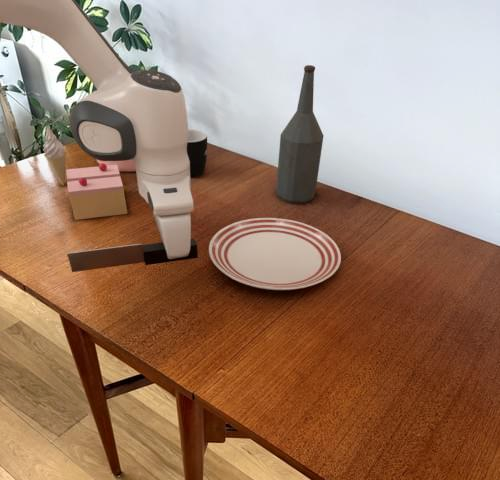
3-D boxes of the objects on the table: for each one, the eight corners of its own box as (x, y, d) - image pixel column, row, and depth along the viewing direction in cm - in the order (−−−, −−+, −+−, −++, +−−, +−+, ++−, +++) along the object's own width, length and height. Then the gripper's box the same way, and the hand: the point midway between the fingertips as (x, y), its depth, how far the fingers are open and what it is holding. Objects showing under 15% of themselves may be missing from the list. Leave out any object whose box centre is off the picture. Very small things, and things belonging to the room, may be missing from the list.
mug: (211, 178, 126) (210, 140, 119) (178, 181, 124) (175, 143, 117) (202, 160, 134) (201, 124, 127) (171, 162, 132) (168, 126, 126)
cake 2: (75, 220, 108) (66, 184, 102) (72, 196, 116) (64, 162, 110) (127, 213, 111) (121, 178, 105) (121, 191, 119) (116, 157, 113)
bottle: (281, 183, 125) (292, 58, 105) (317, 189, 123) (335, 62, 103) (272, 201, 118) (282, 69, 97) (310, 207, 116) (328, 74, 96)
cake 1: (179, 159, 134) (175, 107, 125) (121, 179, 124) (112, 124, 114) (138, 139, 144) (132, 90, 134) (81, 157, 133) (70, 104, 123)
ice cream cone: (48, 185, 120) (32, 125, 109) (64, 179, 123) (50, 120, 112) (61, 191, 118) (45, 130, 107) (77, 184, 121) (63, 124, 110)
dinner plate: (245, 217, 111) (245, 204, 109) (354, 247, 103) (357, 234, 101) (184, 276, 93) (183, 262, 91) (311, 319, 85) (314, 305, 83)
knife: (72, 275, 83) (67, 256, 80) (71, 268, 85) (66, 249, 82) (197, 258, 89) (197, 240, 86) (195, 251, 90) (194, 233, 88)
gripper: (136, 158, 84) (144, 225, 94) (155, 212, 70) (163, 285, 80) (170, 155, 86) (175, 221, 95) (196, 207, 72) (198, 279, 81)
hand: (170, 251), depth 87 cm, fingers closed on knife, 2 cm apart
